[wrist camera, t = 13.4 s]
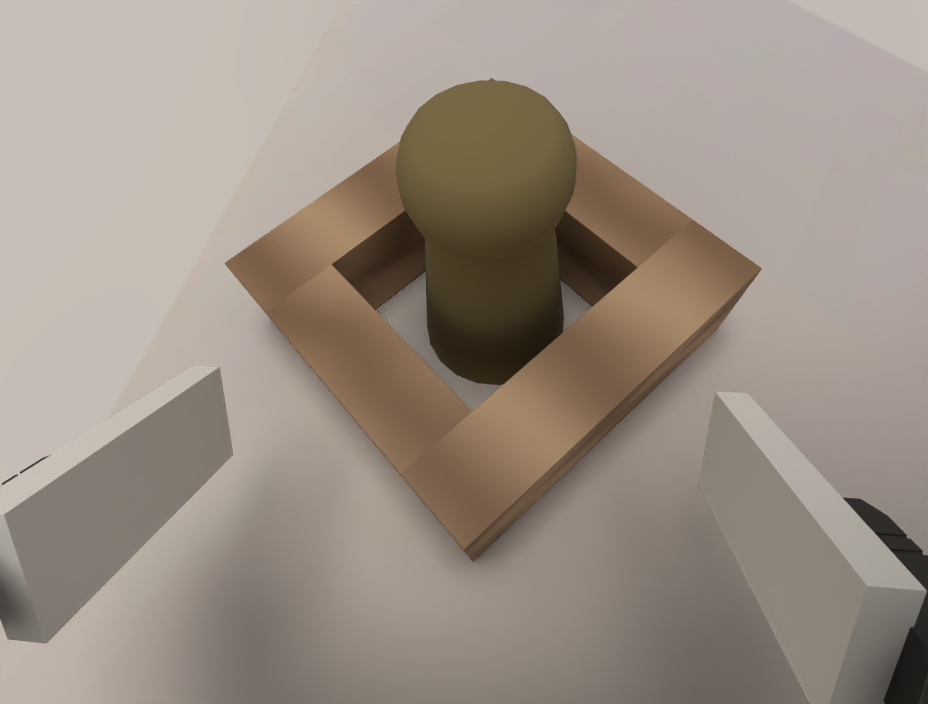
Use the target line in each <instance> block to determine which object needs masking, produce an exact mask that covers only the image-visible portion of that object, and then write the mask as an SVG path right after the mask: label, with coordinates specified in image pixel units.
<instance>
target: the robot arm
mask: <svg viewBox="0 0 928 704" xmlns="http://www.w3.org/2000/svg"><path fill="white" fill-rule="evenodd" d="M232 455H233V450H232V443H231V437H230V430H229V424H228V418H227V411H226V405H225V398H224V392H223V385H222V379H221V372H220V367H212V366H192V367H190V368H189V369H187V370H186V371H184V372H182V373H181V374H179V375H178V376H176V377H174V378H173V379H171V380H170V381H168V382H166V383H165V384H163V385H162V386H160V387H158V388H157V389H155V390H154V391H152V392H151V393H149V394H147V395H146V396H144V397H143V398H141V399H139V400H138V401H136V402H135V403H133V404H131V405H130V406H128V407H127V408H125V409H123V410H122V411H120V412H119V413H117V414H115V415H114V416H112V417H111V418H109V419H107V420H106V421H104V422H103V423H101V424H100V425H98V426H96V427H95V428H93V429H92V430H90V431H88V432H87V433H85V434H84V435H82V436H80V437H79V438H77V439H76V440H74V441H72V442H71V443H69V444H68V445H66V446H65V447H63V448H61V449H60V450H58V451H57V452H55V453H53V454H51V455H49V456H47V457H44V458H42V459H40V460H39V461H37V462H35V463H34V464H32V465H31V466H29V467H27V468H26V469H24V470H23V471H21V472H20V475H15V476H13V477H11V478H10V479H8V480H7V481H5V482H4V483H2V486H0V619H1V622H2V625H3V627H4V630H5V633H6V636H7V638H8V639H10V640H19V641H29V642H38V643H47V642H48V641H49V640H50V639H51V638H52V637H53V636H54V635H55V634H56V633H57V632H58V631H59V630H60V629H61V628H62V627H63V626H64V625H65V624H66V623H67V622H68V621H69V620H70V619H71V618H72V617H73V616H74V615H75V614H76V613H77V612H78V611H79V610H80V609H81V608H82V607H83V606H84V605H85V604H86V603H87V602H88V601H89V600H90V599H91V598H92V597H93V596H94V595H95V594H96V593H97V592H98V591H99V590H100V589H101V588H102V587H103V586H104V585H105V584H106V583H107V582H108V581H109V580H110V579H111V578H112V577H113V576H114V575H115V574H116V573H117V572H118V571H119V570H120V569H121V568H122V567H123V566H124V565H125V564H126V563H127V562H128V561H129V560H130V558H131V557H132V556H133V555H134V554H135V553H136V552H137V551H138V550H139V549H140V548H141V547H142V546H143V545H144V544H145V543H146V542H147V541H148V540H149V539H150V538H151V537H152V536H153V535H154V534H155V533H156V532H157V531H158V530H159V529H160V528H161V527H162V526H163V525H164V524H165V523H166V522H167V521H168V520H169V519H170V518H171V517H172V516H173V515H174V514H175V513H176V512H177V511H178V510H179V509H180V508H181V507H182V506H183V505H184V504H185V503H186V502H187V501H188V500H189V499H190V498H191V497H192V496H193V495H194V494H195V493H196V492H197V491H198V490H199V489H200V488H201V487H202V486H203V485H204V484H205V483H206V482H207V481H208V480H209V479H210V478H211V477H212V476H213V475H214V474H215V473H216V472H217V471H218V470H219V469H220V467H221V466H222V465H223V464H224V463H225V462H226V461H227V460H228V459H229V458H230V457H231V456H232ZM699 487H700V489H701V491H702V493H703V495H704V497H705V499H706V501H707V503H708V505H709V507H710V509H711V511H712V513H713V515H714V517H715V519H716V521H717V523H718V525H719V527H720V529H721V531H722V533H723V535H724V537H725V539H726V541H727V543H728V545H729V547H730V548H731V550H732V552H733V554H734V556H735V558H736V560H737V562H738V564H739V566H740V568H741V570H742V572H743V574H744V576H745V578H746V580H747V582H748V584H749V586H750V588H751V590H752V592H753V594H754V596H755V598H756V600H757V602H758V604H759V606H760V607H761V609H762V611H763V613H764V615H765V617H766V619H767V621H768V623H769V625H770V627H771V629H772V631H773V633H774V635H775V637H776V639H777V641H778V643H779V645H780V647H781V649H782V651H783V653H784V655H785V657H786V659H787V661H788V663H789V665H790V666H791V668H792V670H793V672H794V674H795V676H796V678H797V680H798V682H799V684H800V686H801V688H802V690H803V692H804V694H805V696H806V698H807V700H808V702H809V704H928V556H927V555H923V553H922V552H923V551H922V550H921V549H920V548H919V547H918V546H917V545H916V544H915V543H914V542H913V541H912V540H911V539H907V535H906V534H905V533H904V532H903V531H902V530H901V529H900V528H899V527H898V526H897V525H896V524H895V523H894V522H893V521H892V520H891V519H890V518H889V517H888V516H887V515H885V514H884V513H882V512H881V511H879V510H877V509H876V508H874V507H873V506H871V505H869V504H868V503H866V502H865V501H863V500H861V499H855V498H842V497H841V496H840V495H839V493H838V492H837V491H836V490H835V489H834V488H833V487H832V486H831V485H830V484H829V482H828V481H827V480H826V479H825V478H824V477H823V476H822V475H821V474H820V473H819V471H818V470H817V469H816V468H815V467H814V466H813V465H812V464H811V463H810V462H809V460H808V459H807V458H806V457H805V456H804V455H803V454H802V453H801V452H800V451H799V449H798V448H797V447H796V446H795V445H794V444H793V443H792V442H791V441H790V440H789V438H788V437H787V436H786V435H785V434H784V433H783V432H782V431H781V430H780V429H779V427H778V426H777V425H776V424H775V423H774V422H773V421H772V420H771V419H770V418H769V416H768V415H767V414H766V413H765V412H764V411H763V410H762V409H761V408H760V407H759V405H758V404H757V403H756V402H755V401H754V400H753V399H752V398H751V397H750V396H749V394H748V393H736V392H716V391H715V396H714V401H713V407H712V413H711V418H710V424H709V430H708V435H707V441H706V447H705V452H704V458H703V464H702V469H701V475H700V481H699Z"/></svg>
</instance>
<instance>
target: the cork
mask: <svg viewBox="0 0 928 704" xmlns="http://www.w3.org/2000/svg"><path fill="white" fill-rule="evenodd" d="M576 169H577V154H576V148H575V143H574V140H573V138H572V135H571V132H570V130H569V127H568V124H567V122H566V121H565V120H564V118H563V117H562V116H561V114H560V113H559V112H558V111H557V109H556V108H555V107H554V106H553V105H552V104H551V103H550V102H549V101H548V100H547V99H546V97H544V96H542V95H540V94H539V93H537V92H535V91H533V90H531V89H530V88H528V87H526V86H522V85H518V84H514V83H510V82H506V81H475V82H470V83H465V84H461V85H456V86H454V87H452V88H450V89H447V90H445V91H443V92H441V93H439V94H436V95H435V96H434V97H432V98H431V99H430V100H429V101H427V102H426V103H425V104H424V105H423V106H421V107H420V108H419V109H418V110H417V112H416V113H415V115H414V116H413V118H412V119H411V121H410V122H409V124H408V125H407V127H406V129H405V131H404V133H403V135H402V136H401V140H400V144H399V149H398V153H397V157H396V178H397V183H398V189H399V194H400V197H401V201H402V204H403V207H404V209H405V210H406V212H407V213H408V215H409V217H410V218H411V220H412V221H413V223H414V224H415V226H416V227H417V229H418V230H419V231H420V233H421V234H422V235H423V236H424V237H425V259H426V297H427V327H428V333H429V338H430V343H431V346H432V347H433V349H434V351H435V352H436V354H437V356H438V358H439V359H440V361H441V362H442V363H443V364H445V365H446V366H447V367H448V368H449V369H450V370H452V371H453V372H454V373H455V374H456V375H459V376H461V377H464V378H466V379H469V380H471V381H474V382H476V383H485V384H497V385H500V384H505V383H506V382H507V381H508V380H509V379H510V378H512V377H513V376H514V375H515V374H516V373H517V372H518V371H520V370H521V369H522V368H523V367H524V366H525V365H526V364H528V363H529V362H530V361H531V360H532V359H533V358H535V357H536V356H537V355H538V354H539V353H540V352H541V351H543V350H544V349H545V348H546V347H547V346H548V345H549V344H551V343H552V342H553V341H554V340H555V339H556V338H557V337H559V336H560V335H561V334H562V333H563V320H564V315H563V304H562V294H561V283H560V273H559V263H558V252H557V242H556V232H555V228H556V227H557V225H558V223H559V222H560V220H561V218H562V216H563V214H564V212H565V210H566V208H567V206H568V204H569V202H570V200H571V198H572V196H573V194H574V188H575V182H576Z"/></svg>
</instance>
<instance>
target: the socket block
mask: <svg viewBox="0 0 928 704" xmlns="http://www.w3.org/2000/svg"><path fill="white" fill-rule="evenodd" d="M488 81H495V80H494V79H492V78H491V79H490V80H488ZM571 135H572V134H571ZM572 138H573V140H574V143H575V148H576V154H577V169H576V182H575V188H574V194H573V196H572V198H571V200H570V202H569V204H568V206H567V208H566V210H565V212H564V214H563V216H562V218H561V220H560V222H559V223H558V225H557V227H556V228H555V232H556V242H557V252H558V263H559V273H560V279H561V280H563V281H564V282H565V283H566V284H567V285H569V286H570V287H571V288H572V289H573V290H574V291H576V292H577V293H578V294H579V295H580V296H582V297H583V298H584V299H585V300H586V301H588V302H589V303H590V304H591V305H592V306H593V307H592V308H591V309H590V310H589V311H587V312H586V313H585V314H584V315H583V316H582V317H580V318H579V319H578V320H577V321H576V322H575V323H574V324H572V325H571V326H570V327H569V328H568V329H567V330H566V331H564V332H563V333H562V334H561V335H560V336H559V337H557V338H556V339H555V340H554V341H553V342H552V343H551V344H549V345H548V346H547V347H546V348H545V349H544V350H543V351H541V352H540V353H539V354H538V355H537V356H536V357H535V358H533V359H532V360H531V361H530V362H529V363H528V364H526V365H525V366H524V367H523V368H522V369H521V370H520V371H518V372H517V373H516V374H515V375H514V376H513V377H512V378H510V379H509V380H508V381H507V382H506V383H505V384H504V385H502V386H501V387H500V388H499V389H498V390H497V391H495V392H494V393H493V394H492V395H491V396H490V397H489V398H487V399H486V400H485V401H484V402H483V403H482V404H481V405H479V406H478V407H477V408H476V409H475V410H474V411H471V410H470V409H469V408H468V407H467V406H466V405H465V404H464V403H463V402H462V401H461V400H460V399H459V398H458V397H457V396H456V395H455V394H454V393H453V391H452V390H451V389H450V388H449V387H448V386H447V385H446V384H445V383H444V382H443V381H442V380H441V379H440V378H439V377H438V376H437V375H436V374H435V373H434V372H433V370H432V369H431V368H430V367H429V366H428V365H427V364H426V363H425V362H424V361H423V360H422V359H421V358H420V357H419V356H418V355H417V354H416V353H415V352H414V351H413V349H412V348H411V347H410V346H409V345H408V344H407V343H406V342H405V341H404V340H403V339H402V338H401V337H400V336H399V335H398V334H397V333H396V332H395V331H394V330H393V328H392V327H391V326H390V325H389V324H388V323H387V322H386V321H385V320H384V319H383V318H382V317H381V316H380V315H379V314H378V313H377V312H376V311H375V309H376V308H378V307H379V306H380V305H382V304H383V303H384V302H385V301H387V300H388V299H389V298H391V297H392V296H393V295H394V294H396V293H397V292H398V291H400V290H401V289H402V288H404V287H405V286H406V285H407V284H409V283H410V282H411V281H413V280H414V279H415V278H417V277H418V276H419V275H420V274H422V273H423V272H424V271H426V259H425V237H424V236H423V235H422V234H421V233H420V231H419V230H418V229H417V227H416V226H415V224H414V223H413V221H412V220H411V218H410V217H409V215H408V213H407V212H406V210H405V209H404V207H403V204H402V201H401V197H400V194H399V189H398V183H397V178H396V157H397V153H398V149H399V144H400V142H399V143H397V144H396V145H395V146H393V147H392V148H390V149H389V150H387V151H386V152H384V153H383V154H382V155H380V156H379V157H377V158H376V159H374V160H373V161H371V162H370V163H369V164H367V165H366V166H364V167H363V168H361V169H360V170H358V171H357V172H356V173H354V174H353V175H351V176H350V177H348V178H347V179H345V180H344V181H342V182H341V183H340V184H338V185H337V186H335V187H334V188H332V189H331V190H329V191H328V192H327V193H325V194H324V195H322V196H321V197H319V198H318V199H316V200H315V201H314V202H312V203H311V204H309V205H308V206H306V207H305V208H303V209H302V210H301V211H299V212H298V213H296V214H295V215H293V216H292V217H290V218H289V219H288V220H286V221H285V222H283V223H282V224H280V225H279V226H277V227H276V228H275V229H273V230H272V231H270V232H269V233H267V234H266V235H264V236H263V237H262V238H260V239H259V240H257V241H256V242H254V243H253V244H251V245H250V246H249V247H247V248H246V249H244V250H243V251H241V252H240V253H238V254H237V255H236V256H234V257H233V258H231V259H230V260H228V261H227V262H225V265H226V266H227V267H228V268H229V269H230V271H231V272H232V273H233V274H234V275H235V277H236V278H237V279H238V280H239V281H240V283H241V284H242V285H243V286H244V288H245V289H246V290H247V291H248V292H249V294H250V295H251V296H252V297H253V298H254V300H255V301H256V302H257V303H258V304H259V306H260V307H261V308H262V309H263V310H264V312H265V313H266V314H267V315H268V317H269V318H270V319H271V320H272V321H273V323H274V324H275V325H276V326H277V327H278V329H279V330H280V331H281V332H282V333H283V334H284V336H285V337H286V338H287V339H288V340H289V342H290V343H291V344H292V345H293V346H294V348H295V349H296V350H297V351H298V352H299V354H300V355H301V356H302V357H303V358H304V360H305V361H306V362H307V363H308V364H309V366H310V367H311V368H312V369H313V370H314V372H315V373H316V374H317V375H318V376H319V378H320V379H321V380H322V381H323V382H324V384H325V385H326V386H327V387H328V388H329V390H330V391H331V392H332V393H333V394H334V396H335V397H336V398H337V399H338V400H339V402H340V403H341V404H342V405H343V406H344V408H345V409H346V410H347V411H348V412H349V414H350V415H351V416H352V417H353V418H354V420H355V421H356V422H357V423H358V424H359V426H360V427H361V428H362V429H363V430H364V431H365V433H366V434H367V435H368V436H369V437H370V439H371V440H372V441H373V442H374V443H375V445H376V446H377V447H378V448H379V449H380V451H381V452H382V453H383V454H384V455H385V457H386V458H387V459H388V460H389V461H390V463H391V464H392V465H393V466H394V467H395V469H396V470H397V471H398V472H399V473H400V475H401V476H402V477H403V478H404V479H405V481H406V482H407V483H408V484H409V485H410V487H411V488H412V489H413V490H414V491H415V493H416V494H417V495H418V496H419V497H420V499H421V500H422V501H423V502H424V503H425V505H426V506H427V507H428V508H429V509H430V511H431V512H432V513H433V514H434V515H435V517H436V518H437V519H438V520H439V521H440V523H441V524H442V525H443V526H444V527H445V528H446V530H447V531H448V532H449V533H450V534H451V536H452V537H453V538H454V539H455V540H456V542H457V543H458V544H459V545H460V546H461V548H462V549H463V550H464V551H465V552H466V554H467V555H468V556H469V557H470V558H471V560H472V561H474V560H475V559H476V558H477V557H478V556H480V555H481V554H482V553H483V552H484V551H485V550H486V549H487V548H488V547H489V546H490V545H491V544H492V543H493V542H494V541H495V540H496V539H497V538H498V537H499V536H500V535H502V534H503V533H504V532H505V531H506V530H507V529H508V528H509V527H510V526H511V525H512V524H513V523H514V522H515V521H516V520H517V519H518V518H519V517H520V516H521V515H522V514H524V513H525V512H526V511H527V510H528V509H529V508H530V507H531V506H532V505H533V504H534V503H535V502H536V501H537V500H538V499H539V498H540V497H541V496H542V495H543V494H544V493H546V492H547V491H548V490H549V489H550V488H551V487H552V486H553V485H554V484H555V483H556V482H557V481H558V480H559V479H560V478H561V477H562V476H563V475H564V474H565V473H566V472H568V471H569V470H570V469H571V468H572V467H573V466H574V465H575V464H576V463H577V462H578V461H579V460H580V459H581V458H582V457H583V456H584V455H585V454H586V453H587V452H588V451H590V450H591V449H592V448H593V447H594V446H595V445H596V444H597V443H598V442H599V441H600V440H601V439H602V438H603V437H604V436H605V435H606V434H607V433H608V432H609V431H610V430H612V429H613V428H614V427H615V426H616V425H617V424H618V423H619V422H620V421H621V420H622V419H623V418H624V417H625V416H626V415H627V414H628V413H629V412H630V411H631V410H632V409H633V408H635V407H636V406H637V405H638V404H639V403H640V402H641V401H642V400H643V399H644V398H645V397H646V396H647V395H648V394H649V393H650V392H651V391H652V390H653V389H654V388H655V387H657V386H658V385H659V384H660V383H661V382H662V381H663V380H664V379H665V378H666V377H667V376H668V375H669V374H670V373H671V372H672V371H673V370H674V369H675V368H676V367H677V366H679V365H680V364H681V363H682V362H683V361H684V360H685V359H686V358H687V357H688V356H689V355H690V354H691V353H692V352H693V351H694V350H695V349H696V348H697V347H698V346H699V345H701V344H702V343H703V342H704V341H705V340H706V339H707V338H708V337H709V336H710V335H711V334H712V333H713V332H714V331H715V330H716V329H717V328H718V327H719V326H720V324H721V323H722V322H723V320H724V319H725V318H726V316H727V315H728V314H729V312H730V311H731V310H732V308H733V307H734V306H735V304H736V303H737V302H738V300H739V299H740V298H741V296H742V295H743V293H744V292H745V291H746V289H747V288H748V287H749V285H750V284H751V283H752V281H753V280H754V279H755V277H756V276H757V275H758V273H759V272H760V271H761V269H762V268H761V267H759V266H758V265H756V264H755V263H753V262H752V261H751V260H749V259H748V258H746V257H745V256H743V255H742V254H741V253H739V252H738V251H736V250H735V249H734V248H732V247H731V246H729V245H728V244H726V243H725V242H724V241H722V240H721V239H719V238H718V237H717V236H715V235H714V234H712V233H711V232H709V231H708V230H707V229H705V228H704V227H702V226H701V225H699V224H698V223H697V222H695V221H694V220H692V219H691V218H690V217H688V216H687V215H685V214H684V213H682V212H681V211H680V210H678V209H677V208H675V207H674V206H672V205H671V204H670V203H668V202H667V201H665V200H664V199H663V198H661V197H660V196H658V195H657V194H655V193H654V192H653V191H651V190H650V189H648V188H647V187H646V186H644V185H643V184H641V183H640V182H638V181H637V180H636V179H634V178H633V177H631V176H630V175H628V174H627V173H626V172H624V171H623V170H621V169H620V168H619V167H617V166H616V165H614V164H613V163H611V162H610V161H609V160H607V159H606V158H604V157H603V156H602V155H600V154H599V153H597V152H596V151H594V150H593V149H592V148H590V147H589V146H587V145H586V144H584V143H583V142H582V141H580V140H579V139H577V138H576V137H575V136H573V135H572Z"/></svg>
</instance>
